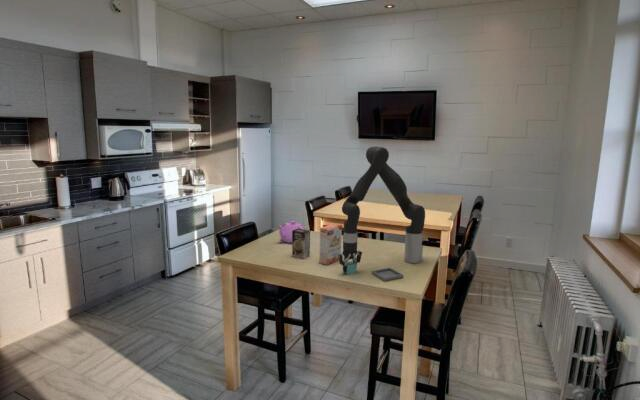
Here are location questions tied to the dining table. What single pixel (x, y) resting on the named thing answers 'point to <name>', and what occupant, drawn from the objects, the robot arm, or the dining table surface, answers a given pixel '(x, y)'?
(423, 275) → the dining table surface
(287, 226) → the teapot
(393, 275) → the tray
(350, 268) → the teal cube
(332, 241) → the cracker box
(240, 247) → the dining table surface
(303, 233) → the coffee box
